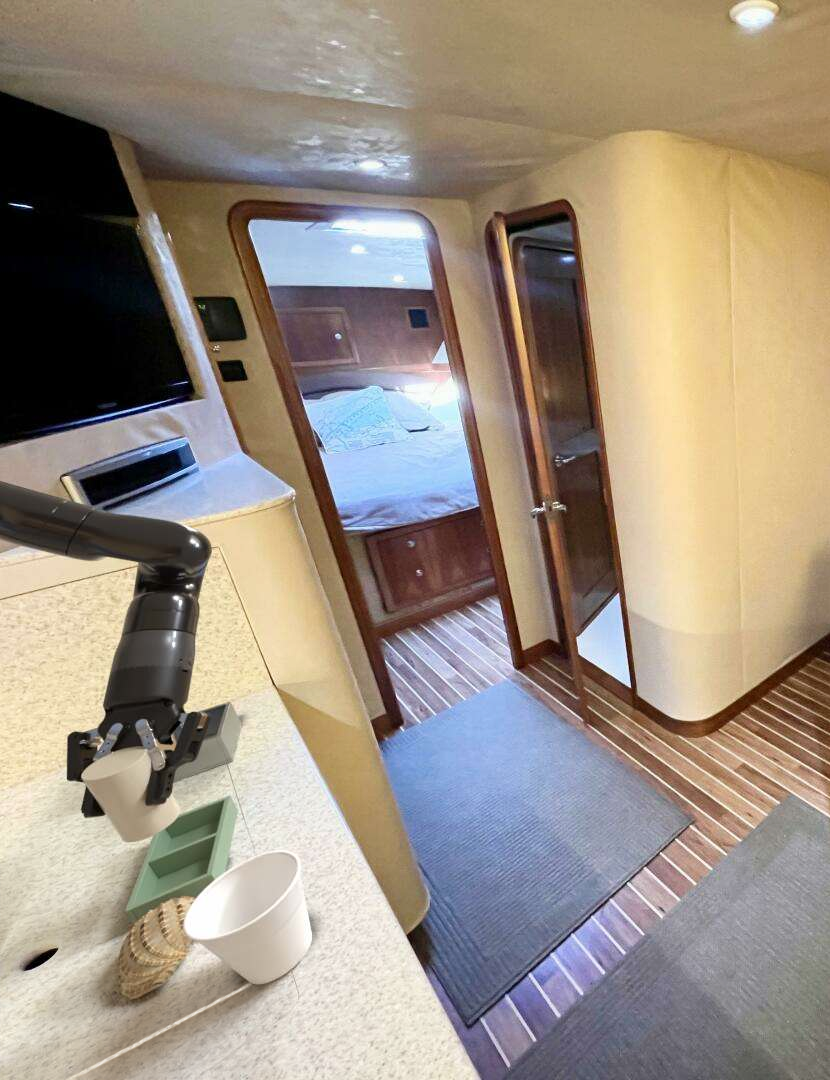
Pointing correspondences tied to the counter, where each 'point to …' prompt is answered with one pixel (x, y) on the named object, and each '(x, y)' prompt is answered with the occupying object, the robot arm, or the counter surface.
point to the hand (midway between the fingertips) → (125, 810)
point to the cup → (254, 917)
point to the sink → (214, 741)
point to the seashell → (153, 948)
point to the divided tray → (184, 857)
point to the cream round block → (128, 794)
